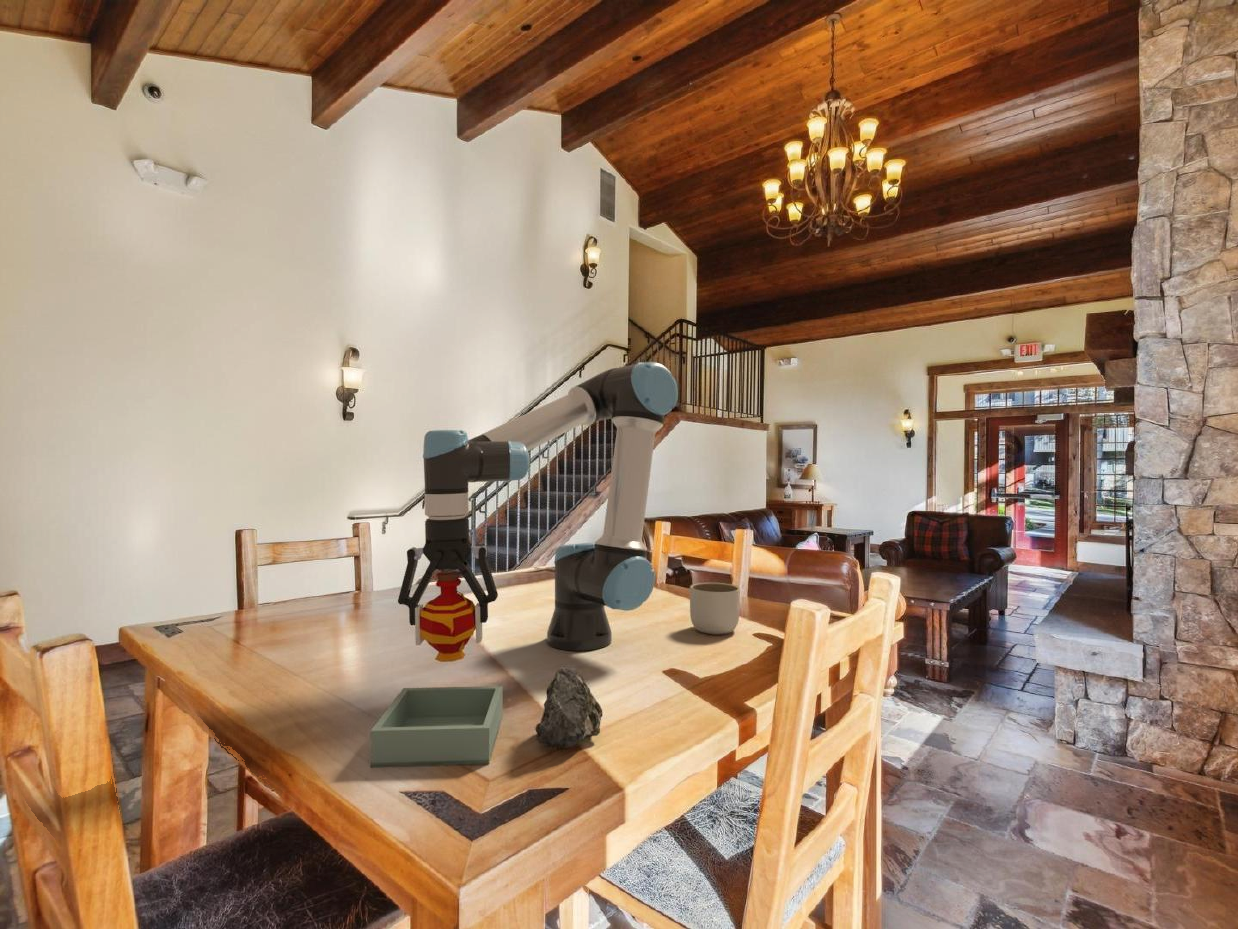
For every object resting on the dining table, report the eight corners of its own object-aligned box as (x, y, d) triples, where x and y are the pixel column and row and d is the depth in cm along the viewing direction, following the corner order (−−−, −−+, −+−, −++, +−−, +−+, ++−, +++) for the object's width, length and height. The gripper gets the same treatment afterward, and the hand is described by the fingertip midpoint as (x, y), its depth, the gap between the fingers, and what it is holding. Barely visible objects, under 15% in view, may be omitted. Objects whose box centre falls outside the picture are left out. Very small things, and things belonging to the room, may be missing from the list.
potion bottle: (490, 650, 113) (488, 569, 112) (458, 669, 103) (456, 580, 103) (442, 645, 116) (440, 566, 116) (406, 663, 106) (404, 577, 106)
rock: (538, 703, 100) (555, 655, 96) (595, 718, 100) (613, 671, 97) (526, 764, 88) (543, 712, 85) (589, 781, 89) (610, 730, 86)
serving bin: (502, 716, 101) (502, 686, 101) (489, 764, 85) (489, 728, 85) (403, 718, 100) (403, 688, 100) (370, 767, 84) (370, 730, 84)
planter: (703, 621, 163) (704, 580, 163) (747, 629, 156) (748, 586, 156) (680, 631, 153) (680, 588, 153) (726, 640, 145) (726, 594, 145)
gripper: (512, 513, 114) (514, 633, 114) (389, 516, 112) (391, 637, 112) (508, 517, 106) (510, 646, 106) (375, 520, 104) (378, 650, 105)
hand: (449, 641), depth 109 cm, fingers closed on potion bottle, 10 cm apart
